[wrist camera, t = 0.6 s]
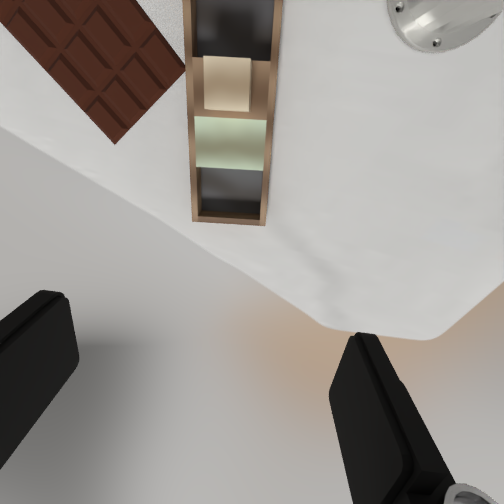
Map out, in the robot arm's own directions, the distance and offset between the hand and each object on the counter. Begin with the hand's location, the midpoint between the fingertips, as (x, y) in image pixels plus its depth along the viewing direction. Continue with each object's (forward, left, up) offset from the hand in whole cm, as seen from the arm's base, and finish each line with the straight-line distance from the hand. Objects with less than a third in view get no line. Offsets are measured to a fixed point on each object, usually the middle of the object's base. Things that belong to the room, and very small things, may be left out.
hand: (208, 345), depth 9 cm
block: (-10, -2, -29) cm, 30 cm away
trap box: (-7, -2, -32) cm, 32 cm away
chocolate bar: (-17, -22, -32) cm, 43 cm away
